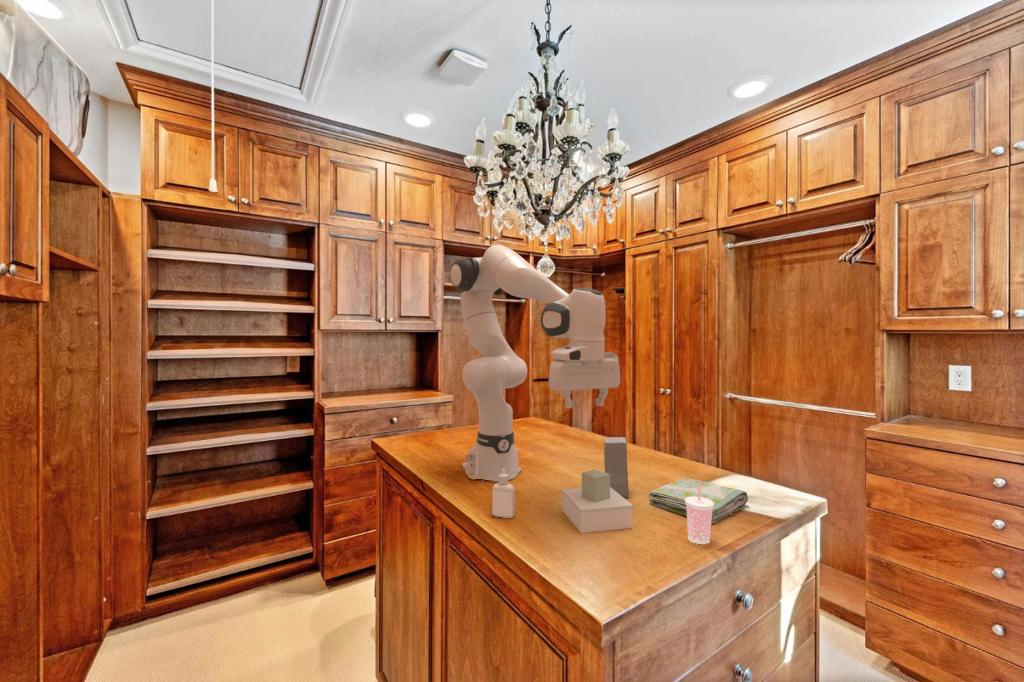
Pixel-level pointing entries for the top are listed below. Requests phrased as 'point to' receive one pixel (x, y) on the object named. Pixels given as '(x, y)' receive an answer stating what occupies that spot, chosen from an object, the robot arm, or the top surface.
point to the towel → (677, 491)
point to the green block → (596, 485)
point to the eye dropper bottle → (503, 497)
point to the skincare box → (617, 464)
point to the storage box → (597, 511)
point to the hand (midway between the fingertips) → (584, 406)
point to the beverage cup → (699, 517)
